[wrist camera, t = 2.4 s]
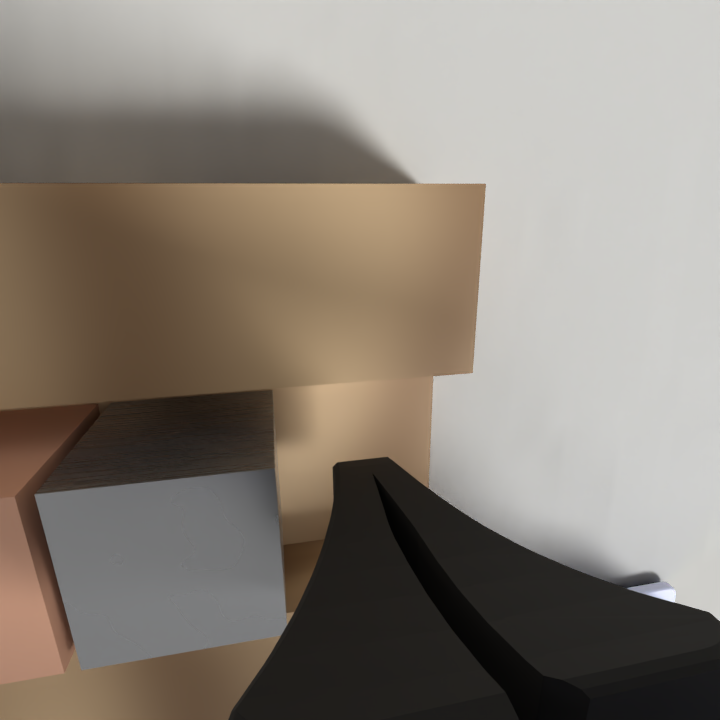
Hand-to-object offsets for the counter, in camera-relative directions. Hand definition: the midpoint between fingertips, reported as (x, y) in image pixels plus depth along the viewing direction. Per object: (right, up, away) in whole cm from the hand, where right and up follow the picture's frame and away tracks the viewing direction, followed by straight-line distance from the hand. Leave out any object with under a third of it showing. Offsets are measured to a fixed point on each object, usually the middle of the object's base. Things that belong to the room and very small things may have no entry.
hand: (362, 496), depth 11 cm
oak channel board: (-4, +1, +3) cm, 5 cm away
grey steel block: (-4, 0, +2) cm, 5 cm away
